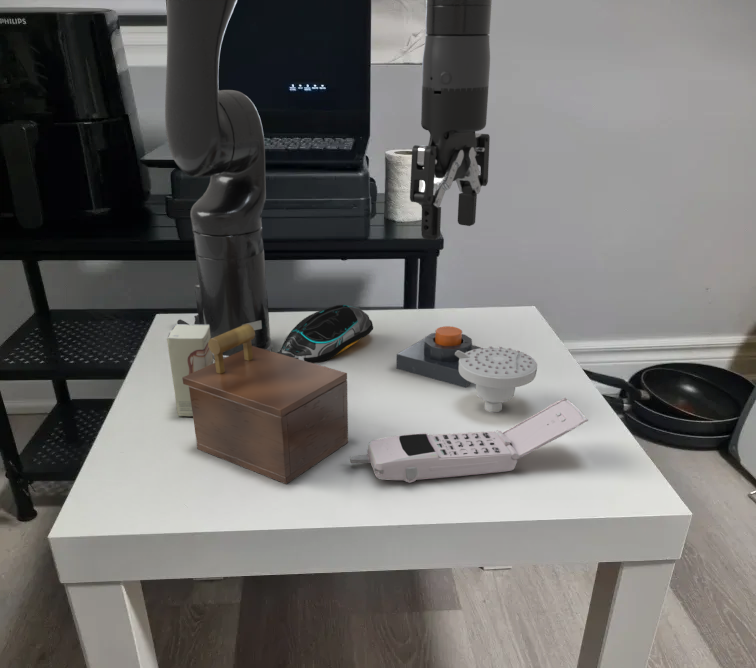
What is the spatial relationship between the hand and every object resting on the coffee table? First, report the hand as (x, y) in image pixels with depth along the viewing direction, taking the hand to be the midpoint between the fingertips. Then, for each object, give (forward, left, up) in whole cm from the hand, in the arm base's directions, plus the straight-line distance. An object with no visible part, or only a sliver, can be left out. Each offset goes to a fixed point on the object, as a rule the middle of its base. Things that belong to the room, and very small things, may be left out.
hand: (448, 231), depth 93 cm
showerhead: (+11, -6, -19) cm, 23 cm away
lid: (-5, -29, -11) cm, 32 cm away
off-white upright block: (-19, -27, -19) cm, 38 cm away
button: (0, +2, -15) cm, 15 cm away
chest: (-5, -29, -19) cm, 35 cm away
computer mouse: (-18, -2, -19) cm, 26 cm away
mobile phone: (+15, -20, -19) cm, 32 cm away
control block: (0, +2, -19) cm, 19 cm away
